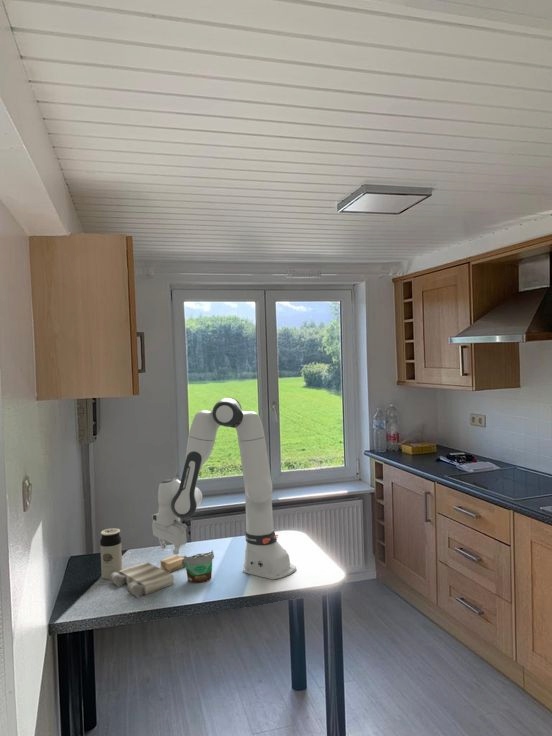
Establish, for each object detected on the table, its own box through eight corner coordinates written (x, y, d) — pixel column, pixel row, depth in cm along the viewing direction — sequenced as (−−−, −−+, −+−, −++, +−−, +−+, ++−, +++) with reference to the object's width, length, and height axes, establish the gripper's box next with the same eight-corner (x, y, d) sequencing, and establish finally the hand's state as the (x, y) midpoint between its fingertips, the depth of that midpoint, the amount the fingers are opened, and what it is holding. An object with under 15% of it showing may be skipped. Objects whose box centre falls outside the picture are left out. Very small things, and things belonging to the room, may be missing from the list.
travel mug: (110, 570, 211) (108, 527, 211) (126, 572, 208) (124, 528, 208) (97, 578, 203) (95, 533, 203) (114, 580, 201) (112, 535, 200)
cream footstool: (173, 583, 196) (173, 574, 196) (135, 598, 184) (135, 588, 184) (146, 570, 210) (145, 561, 210) (109, 583, 199) (109, 573, 198)
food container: (188, 587, 192) (188, 560, 192) (184, 581, 198) (183, 555, 198) (219, 579, 198) (218, 554, 198) (214, 574, 203) (213, 549, 203)
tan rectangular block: (189, 565, 214) (188, 556, 214) (168, 572, 207) (168, 563, 207) (181, 561, 218) (180, 553, 218) (160, 568, 211) (160, 560, 211)
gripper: (190, 521, 206) (190, 555, 206) (162, 511, 221) (162, 543, 221) (177, 525, 202) (177, 559, 202) (149, 514, 216) (150, 547, 216)
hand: (169, 551), depth 211 cm, fingers open, 8 cm apart
